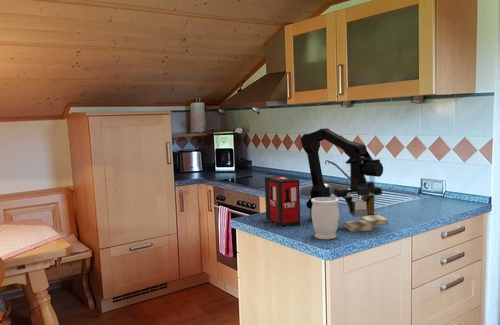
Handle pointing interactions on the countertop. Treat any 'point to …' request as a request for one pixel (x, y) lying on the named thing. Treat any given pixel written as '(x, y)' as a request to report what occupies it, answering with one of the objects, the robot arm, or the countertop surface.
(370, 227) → the stand
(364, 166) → the robot arm
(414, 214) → the countertop surface
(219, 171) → the countertop surface
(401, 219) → the countertop surface
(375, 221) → the stand
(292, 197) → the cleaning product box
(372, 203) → the condiment
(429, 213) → the countertop surface
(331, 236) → the jar
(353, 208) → the block
